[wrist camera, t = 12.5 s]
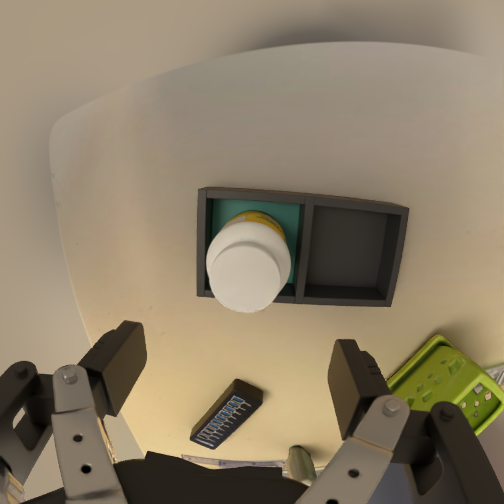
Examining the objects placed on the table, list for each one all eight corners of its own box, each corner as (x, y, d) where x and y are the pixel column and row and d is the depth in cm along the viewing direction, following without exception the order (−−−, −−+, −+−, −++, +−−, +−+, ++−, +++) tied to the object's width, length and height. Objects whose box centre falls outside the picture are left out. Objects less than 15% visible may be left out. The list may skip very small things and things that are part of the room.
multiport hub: (264, 391, 36) (264, 402, 34) (215, 440, 40) (213, 450, 38) (235, 377, 36) (234, 389, 34) (191, 429, 39) (188, 440, 37)
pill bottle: (289, 264, 31) (302, 317, 19) (229, 275, 31) (210, 331, 20) (278, 203, 29) (286, 223, 18) (215, 215, 30) (184, 242, 18)
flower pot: (363, 388, 36) (388, 455, 23) (433, 315, 32) (484, 369, 20) (413, 414, 37) (439, 469, 25) (472, 355, 34) (513, 402, 22)
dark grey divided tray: (204, 281, 32) (196, 296, 28) (206, 186, 30) (198, 189, 26) (378, 292, 32) (390, 307, 28) (392, 203, 29) (409, 207, 25)
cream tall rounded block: (323, 447, 40) (329, 484, 32) (308, 462, 41) (311, 497, 33) (294, 442, 39) (296, 480, 32) (279, 457, 41) (280, 493, 33)
